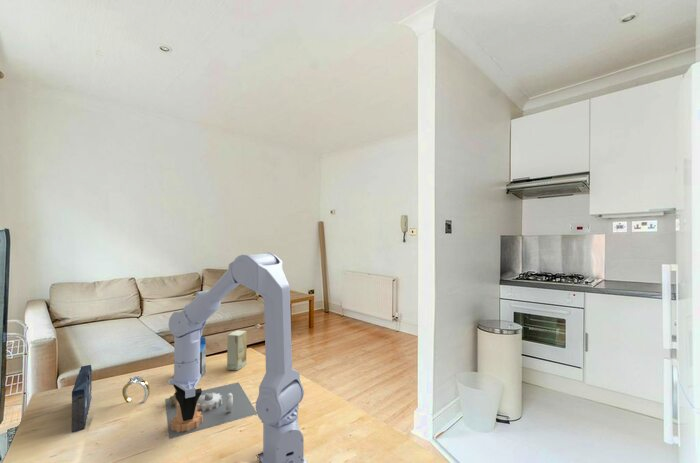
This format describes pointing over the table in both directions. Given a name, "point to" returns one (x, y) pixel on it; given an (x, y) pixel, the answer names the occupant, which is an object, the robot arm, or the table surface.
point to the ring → (139, 381)
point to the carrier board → (214, 407)
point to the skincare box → (236, 350)
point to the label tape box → (202, 355)
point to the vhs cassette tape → (81, 398)
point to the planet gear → (182, 425)
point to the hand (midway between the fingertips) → (187, 414)
